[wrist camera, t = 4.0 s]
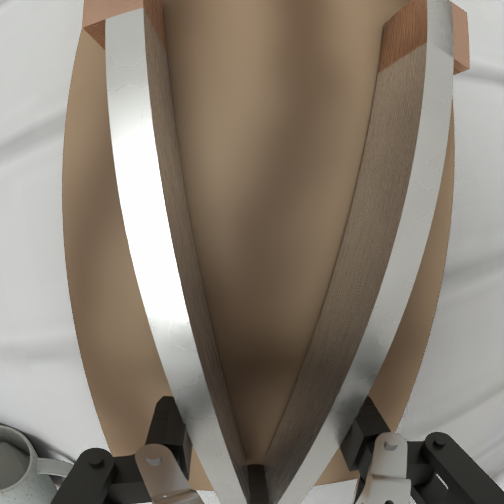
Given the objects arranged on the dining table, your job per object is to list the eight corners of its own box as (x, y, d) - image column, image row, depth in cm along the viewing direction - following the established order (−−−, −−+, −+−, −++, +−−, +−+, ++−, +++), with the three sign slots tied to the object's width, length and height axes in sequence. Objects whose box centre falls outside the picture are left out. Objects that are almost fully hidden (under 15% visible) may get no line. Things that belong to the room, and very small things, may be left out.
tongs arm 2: (247, 461, 15) (251, 514, 11) (213, 465, 15) (212, 517, 11) (162, 2, 10) (142, -50, 6) (119, 14, 9) (88, -32, 6)
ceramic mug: (17, 471, 17) (-7, 520, 10) (-17, 414, 15) (-55, 466, 8) (106, 498, 18) (90, 561, 10) (77, 445, 16) (45, 520, 9)
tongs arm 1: (295, 462, 15) (307, 512, 11) (263, 461, 15) (270, 513, 11) (418, 41, 11) (466, 12, 7) (384, 24, 10) (426, -14, 6)
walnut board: (425, -5, 11) (483, -48, 5) (370, 465, 18) (398, 524, 12) (110, -34, 9) (73, -98, 3) (125, 470, 16) (107, 536, 10)
